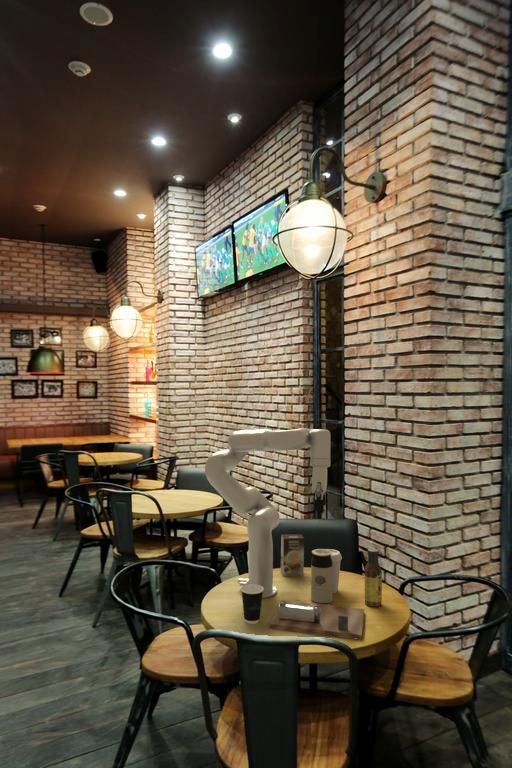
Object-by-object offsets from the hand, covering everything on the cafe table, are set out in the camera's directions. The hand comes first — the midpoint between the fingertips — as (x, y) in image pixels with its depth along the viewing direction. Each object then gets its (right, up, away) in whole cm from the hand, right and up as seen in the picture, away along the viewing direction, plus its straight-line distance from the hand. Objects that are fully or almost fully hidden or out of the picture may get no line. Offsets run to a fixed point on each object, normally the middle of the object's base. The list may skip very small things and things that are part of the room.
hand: (320, 507), depth 191 cm
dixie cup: (-26, -35, -17) cm, 46 cm away
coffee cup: (+5, -35, +10) cm, 37 cm away
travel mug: (+1, -35, +1) cm, 35 cm away
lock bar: (-9, -33, -20) cm, 40 cm away
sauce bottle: (+19, -35, -3) cm, 40 cm away
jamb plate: (-3, -35, -17) cm, 39 cm away
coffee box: (-9, -36, +28) cm, 46 cm away
